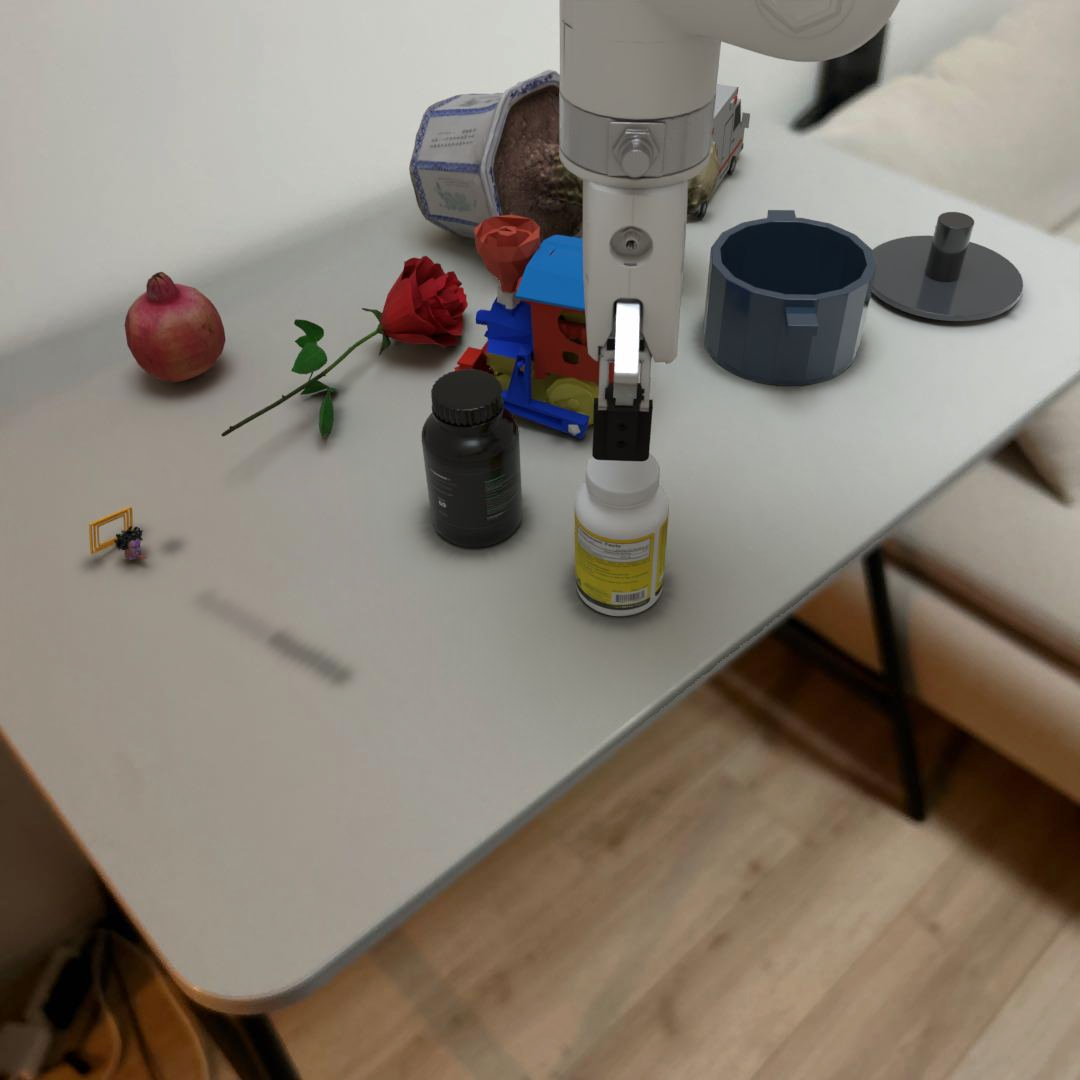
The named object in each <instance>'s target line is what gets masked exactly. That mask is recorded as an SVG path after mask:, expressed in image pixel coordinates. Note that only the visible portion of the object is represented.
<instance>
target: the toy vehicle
mask: <svg viewBox="0 0 1080 1080" xmlns="http://www.w3.org/2000/svg"><path fill="white" fill-rule="evenodd" d="M738 95H739V86H733V85H727V84H720V83H717V87H716V101H715V111H714V121H713V130H712V140H711V141H714V142H715V143H716V144H715V146H717V158H718V160H719V162H720V169H719V177H718V183H717V184H716V186H715V188H714V189H713V192H712V194H713V193H714V192H715V191H716V189H717V187H718V186H719V184H720V183H721V181H722V180H723V179H724V177H725V176H726V175H730V176H732V175H733V174H734V172H735V168H736V164H737V158H738V156H740V154H741V152H742V151H743V149H744V145H745V144H744V138H745V129H749V128H750V119H751V113H747V112H742V98H738ZM708 201H709V199H708V200H706V201H705V202H703V203H702V204H701V205H700V206H699V207H698V209H697V211H696V212H695V213H690V212H689V211H687V215H692V216H696V217H697V218H699V219H704V217H705V215H706V213H707V209H708Z"/></svg>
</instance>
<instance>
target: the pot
mask: <svg viewBox="0 0 1080 1080" xmlns="http://www.w3.org/2000/svg"><path fill="white" fill-rule="evenodd" d="M872 250H873V248H872V247H870V246H869V245H868V244H867V243H866V242H865V241H863V240H862V239H861V238H860V237H859V236H858V235H856V234H855V233H853V232H851V231H848V230H846V229H844V228H841V227H839V226H837V225H835V224H834V223H833V224H832V223H829V222H825V221H820V220H814V219H810V218H806V217H797V215H796V211H795V210H794V209H768V210H767V215H766V217H764V218H763V217H762V218H759V219H753V220H748V221H744V222H740V223H738V224H736V225H735V226H732V227H730V228H729V229H727V230H724V231H723V232H721V233H720V234H719V236H718V238H717V239H716V240H715V241H714V242H713V243H712V245H711V247H710V251H709V252H710V253H709V263H708V274H707V283H706V284H707V285H706V295H705V306H704V314H703V315H704V316H703V325H702V328H703V339H702V340H703V344H704V347H705V349H706V351H707V353H708V354H709V356H710V357H711V358H712V359H713V361H714V362H715V363H717V364H718V365H719V366H720V367H722V368H723V369H725V370H726V371H728V372H730V373H731V374H734V375H736V376H738V377H741V378H743V379H745V380H749V381H752V382H756V383H760V384H765V385H773V386H782V387H794V386H795V387H797V386H807V385H812V384H818V383H821V382H824V381H827V380H830V379H833V378H834V377H838V375H841V374H842V373H843V372H845V371H846V370H847V369H848V368H849V367H850V366H851V365H852V364H853V362H854V361H855V359H856V356H857V353H858V350H859V348H860V346H861V342H862V337H863V332H864V329H865V322H866V318H867V315H868V314H867V313H868V309H869V303H870V300H871V295H872V286H873V282H874V277H875V273H876V268H877V264H876V261H875V258H874V254H873V251H872Z"/></svg>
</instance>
